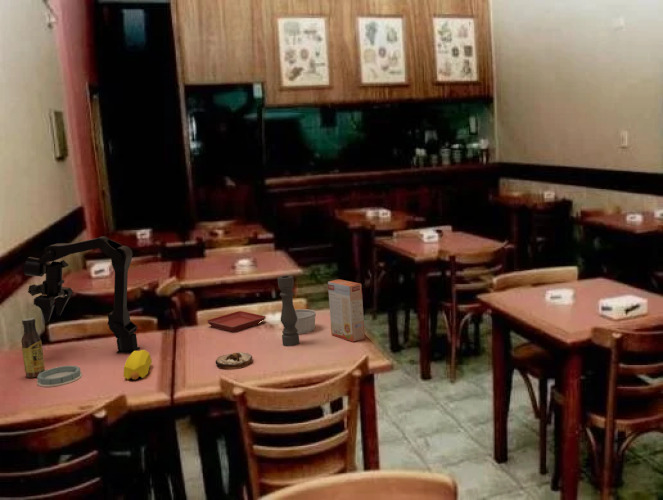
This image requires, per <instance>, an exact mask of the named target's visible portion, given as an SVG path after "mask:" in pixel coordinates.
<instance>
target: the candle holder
mask: <svg viewBox="0 0 663 500" xmlns="http://www.w3.org/2000/svg"><path fill="white" fill-rule="evenodd" d="M294 285H295V282H294V275H291V274H290V275H281V276H278V277H277V286H278V289H279V290H280V293H279V297H281V303H282V306H281V314H280V322H281V324H282V326H283V330H282V332H281V333H282V334H281V340H282V341H281V343H282V346H284V347H295V346H298V345H299V344H300V334H298V333H297V332H298V330H297V329H296V327H295V326H296V325H295V324H296V322H297V315H296V312H295V310H296V309H295V307H294V301H293V296H294V295H295V292H294V291H293V289H294Z"/></svg>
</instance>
